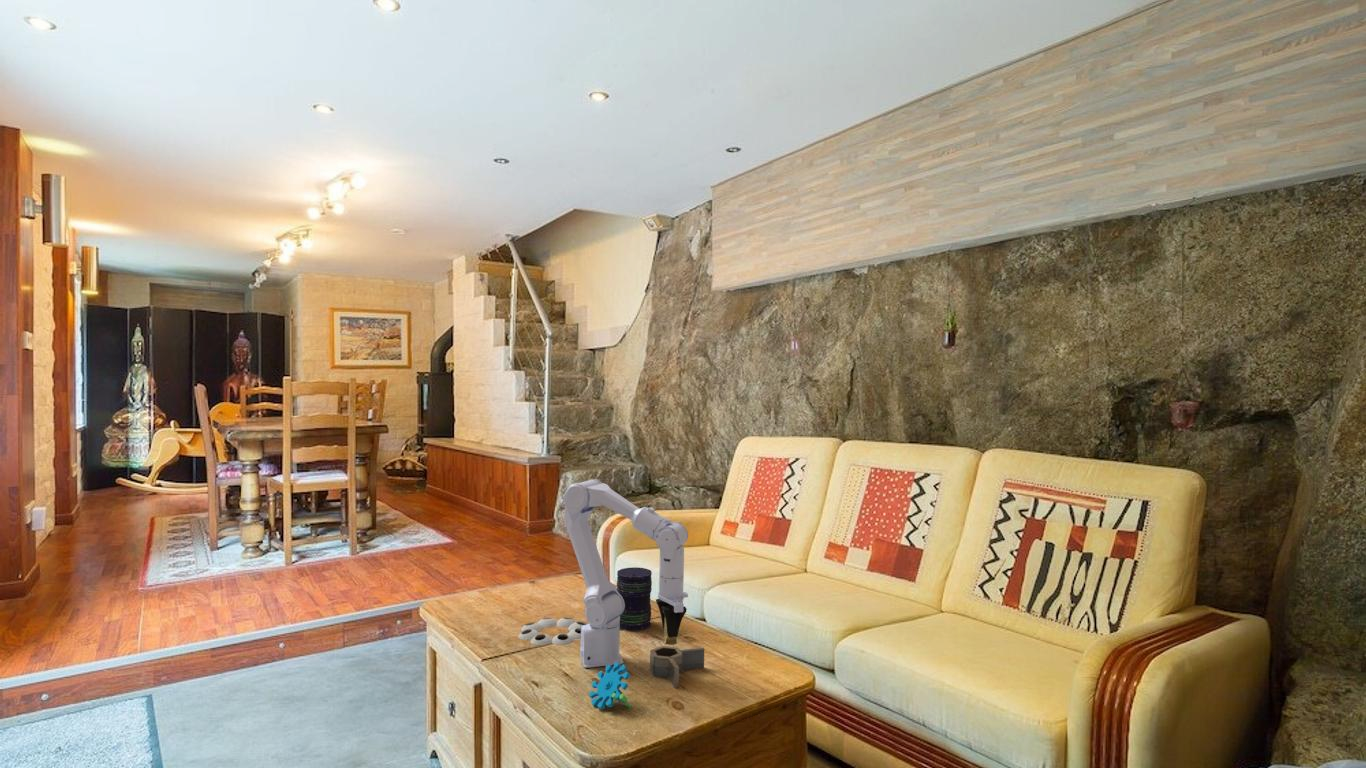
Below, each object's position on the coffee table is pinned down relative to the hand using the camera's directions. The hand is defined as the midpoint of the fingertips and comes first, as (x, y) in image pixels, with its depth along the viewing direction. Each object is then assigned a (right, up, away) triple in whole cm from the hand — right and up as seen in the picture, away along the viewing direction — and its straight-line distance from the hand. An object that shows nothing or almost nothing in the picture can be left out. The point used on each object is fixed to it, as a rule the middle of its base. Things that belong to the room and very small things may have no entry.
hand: (670, 633), depth 161 cm
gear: (-12, -9, -16) cm, 22 cm away
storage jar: (-11, -9, +31) cm, 34 cm away
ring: (-32, -10, +25) cm, 42 cm away
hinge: (+2, -9, -1) cm, 10 cm away
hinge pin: (0, -2, 0) cm, 2 cm away
